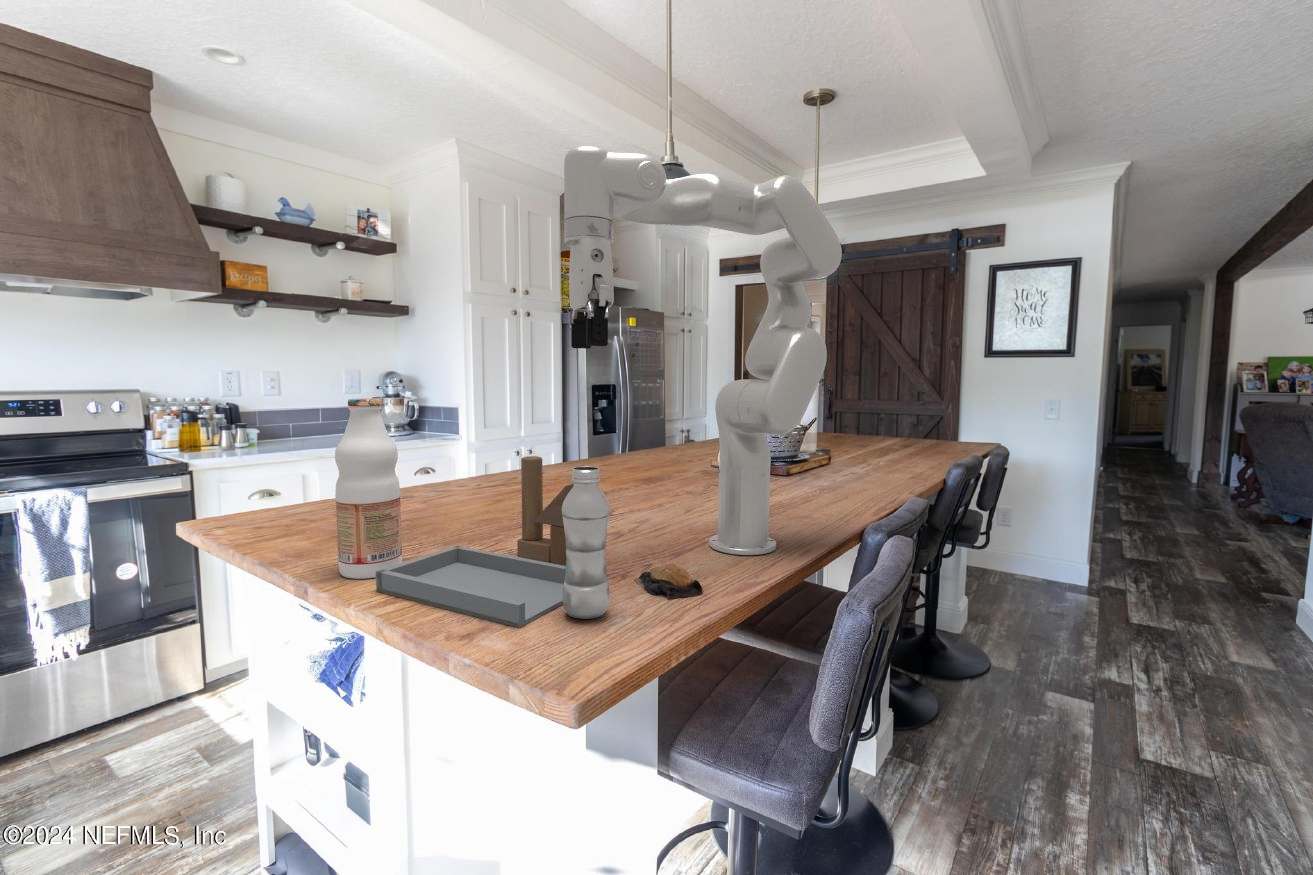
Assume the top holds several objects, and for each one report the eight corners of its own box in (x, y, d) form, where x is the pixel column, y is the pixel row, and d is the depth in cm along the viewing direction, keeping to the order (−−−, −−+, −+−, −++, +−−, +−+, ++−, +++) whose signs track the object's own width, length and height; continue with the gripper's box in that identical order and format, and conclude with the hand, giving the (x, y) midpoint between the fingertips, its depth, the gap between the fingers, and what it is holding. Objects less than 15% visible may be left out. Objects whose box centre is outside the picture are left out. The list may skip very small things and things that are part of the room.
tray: (457, 562, 105) (457, 545, 104) (589, 589, 92) (589, 570, 92) (376, 591, 91) (375, 571, 90) (519, 628, 78) (518, 605, 78)
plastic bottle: (569, 628, 78) (569, 473, 76) (556, 609, 84) (555, 465, 82) (617, 620, 81) (618, 470, 79) (600, 603, 87) (601, 463, 85)
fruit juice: (326, 579, 95) (318, 399, 93) (356, 561, 105) (350, 397, 102) (386, 580, 95) (380, 400, 92) (411, 562, 105) (406, 398, 102)
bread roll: (630, 583, 97) (630, 561, 97) (676, 576, 101) (676, 554, 100) (661, 606, 88) (661, 581, 87) (711, 597, 91) (711, 572, 91)
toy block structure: (566, 570, 102) (566, 462, 100) (516, 560, 107) (515, 457, 105) (579, 564, 105) (579, 459, 103) (530, 554, 110) (529, 455, 108)
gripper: (629, 224, 88) (628, 345, 89) (597, 247, 104) (597, 349, 105) (578, 219, 85) (578, 344, 87) (553, 243, 101) (553, 348, 103)
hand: (588, 347), depth 96 cm, fingers open, 9 cm apart
